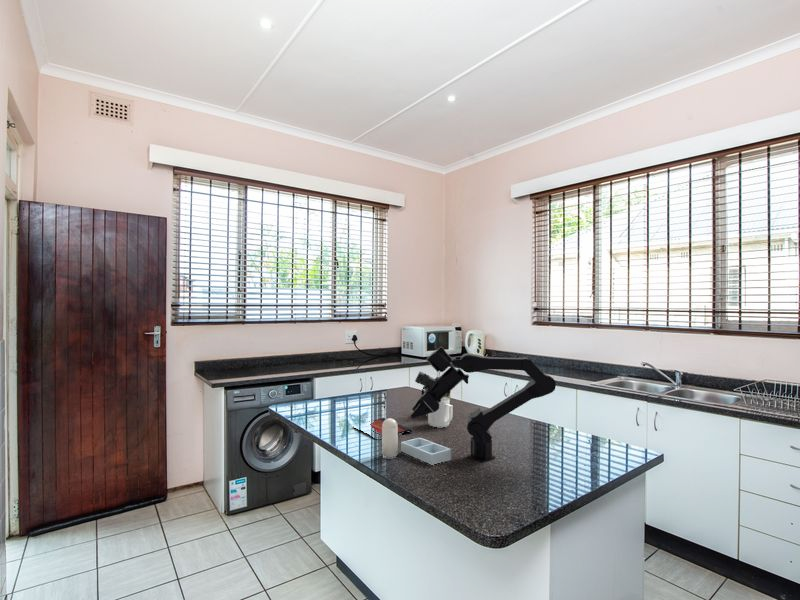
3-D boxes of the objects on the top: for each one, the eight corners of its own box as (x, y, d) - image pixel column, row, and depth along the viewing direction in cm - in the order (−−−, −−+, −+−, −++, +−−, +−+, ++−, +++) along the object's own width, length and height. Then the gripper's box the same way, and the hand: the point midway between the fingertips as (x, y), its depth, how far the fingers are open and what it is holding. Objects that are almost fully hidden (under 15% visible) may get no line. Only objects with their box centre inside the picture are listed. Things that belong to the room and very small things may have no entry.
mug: (423, 425, 179) (423, 398, 179) (438, 421, 185) (438, 395, 185) (444, 431, 170) (444, 403, 170) (459, 427, 176) (459, 400, 176)
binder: (383, 417, 185) (412, 428, 168) (383, 422, 185) (412, 434, 168) (350, 424, 176) (376, 437, 159) (350, 430, 176) (377, 443, 159)
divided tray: (451, 459, 139) (451, 449, 139) (431, 465, 134) (431, 454, 134) (419, 447, 151) (419, 437, 151) (401, 452, 146) (401, 442, 146)
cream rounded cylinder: (400, 457, 142) (400, 418, 142) (388, 460, 138) (388, 421, 138) (391, 452, 146) (391, 415, 146) (379, 456, 142) (378, 418, 143)
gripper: (430, 360, 152) (398, 390, 153) (429, 368, 133) (393, 401, 134) (452, 384, 151) (419, 413, 152) (454, 395, 133) (417, 428, 133)
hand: (412, 413), depth 143 cm, fingers open, 9 cm apart
